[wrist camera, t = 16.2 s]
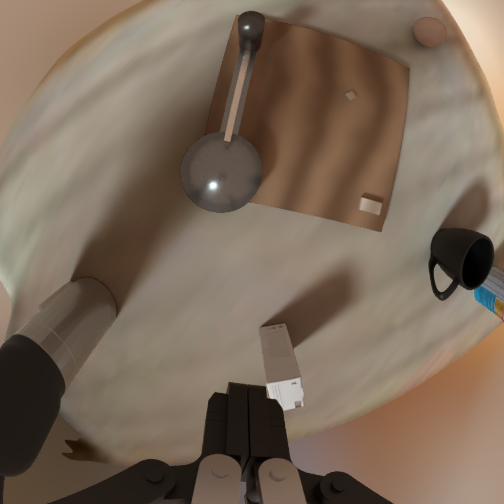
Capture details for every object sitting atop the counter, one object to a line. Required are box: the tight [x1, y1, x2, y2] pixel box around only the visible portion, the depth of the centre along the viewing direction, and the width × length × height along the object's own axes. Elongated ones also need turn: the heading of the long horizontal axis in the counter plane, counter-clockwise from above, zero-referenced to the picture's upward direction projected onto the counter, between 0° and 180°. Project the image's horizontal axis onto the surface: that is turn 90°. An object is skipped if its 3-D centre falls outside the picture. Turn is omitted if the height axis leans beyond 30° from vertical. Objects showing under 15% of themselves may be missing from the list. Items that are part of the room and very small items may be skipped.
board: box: [205, 15, 410, 232], centre depth 30 cm, size 25×25×3 cm
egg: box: [413, 17, 447, 47], centre depth 24 cm, size 5×5×7 cm
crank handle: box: [181, 11, 265, 213], centre depth 26 cm, size 22×9×8 cm, turn 169°
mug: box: [428, 228, 494, 301], centre depth 33 cm, size 8×12×10 cm
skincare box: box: [259, 323, 305, 410], centre depth 35 cm, size 6×4×12 cm
